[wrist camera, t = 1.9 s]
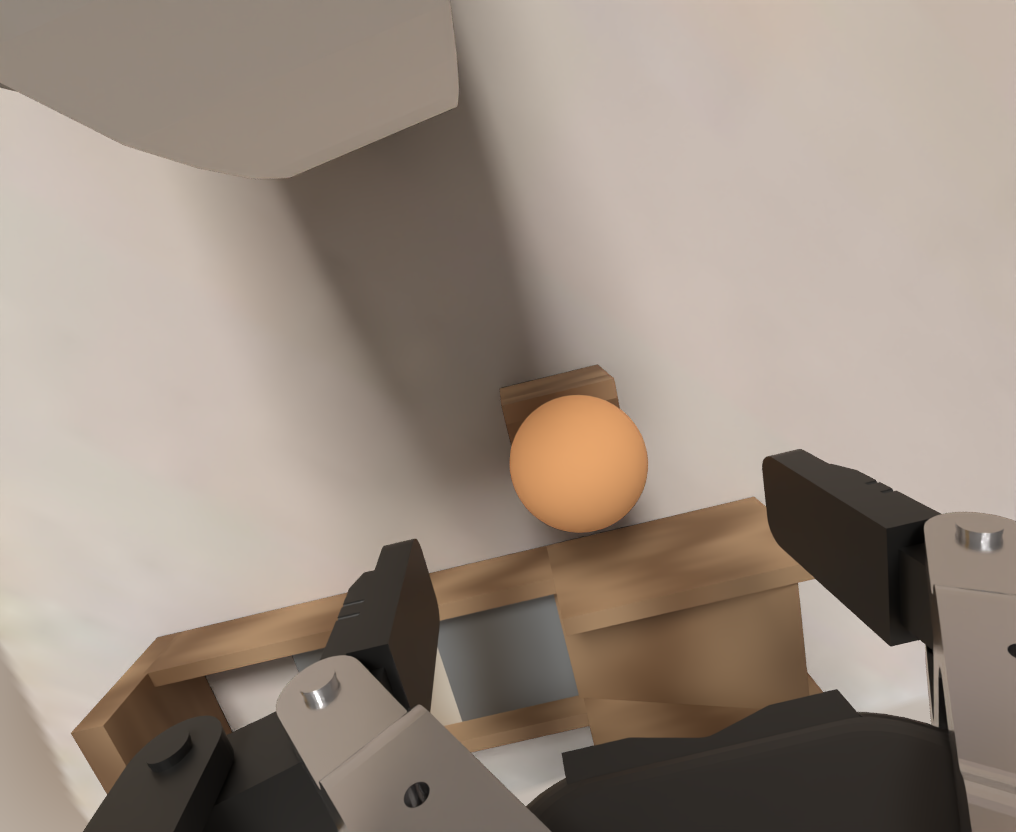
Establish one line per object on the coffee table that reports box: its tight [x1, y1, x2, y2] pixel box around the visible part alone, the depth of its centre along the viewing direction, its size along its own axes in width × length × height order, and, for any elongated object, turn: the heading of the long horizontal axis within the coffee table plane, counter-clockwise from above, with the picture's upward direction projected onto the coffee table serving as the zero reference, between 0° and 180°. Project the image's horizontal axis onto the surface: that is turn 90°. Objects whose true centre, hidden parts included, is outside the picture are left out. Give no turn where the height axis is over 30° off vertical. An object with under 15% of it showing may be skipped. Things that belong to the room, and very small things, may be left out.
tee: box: [500, 365, 620, 446], centre depth 20 cm, size 4×4×3 cm
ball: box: [510, 395, 648, 533], centre depth 17 cm, size 4×4×4 cm
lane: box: [71, 497, 823, 794], centre depth 21 cm, size 27×7×5 cm, turn 104°
